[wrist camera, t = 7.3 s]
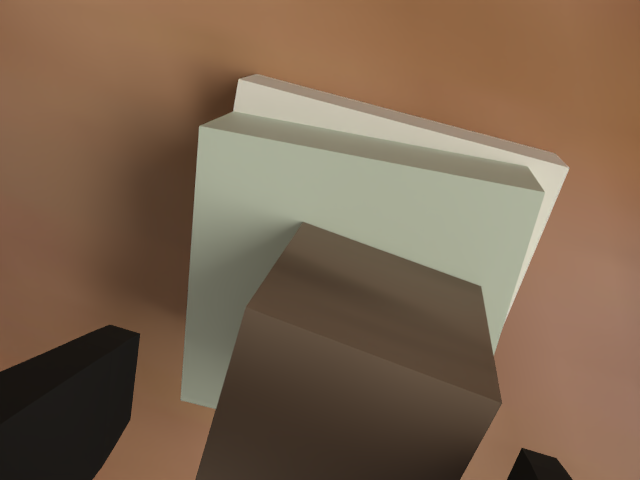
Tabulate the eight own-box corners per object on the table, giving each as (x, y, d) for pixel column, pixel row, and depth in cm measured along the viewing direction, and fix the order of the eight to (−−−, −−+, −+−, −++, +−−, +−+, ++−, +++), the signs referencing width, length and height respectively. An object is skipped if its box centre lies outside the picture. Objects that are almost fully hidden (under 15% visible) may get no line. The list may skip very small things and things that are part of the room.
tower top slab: (454, 412, 18) (457, 470, 15) (211, 353, 19) (180, 400, 16) (527, 166, 15) (545, 192, 12) (233, 111, 16) (198, 125, 13)
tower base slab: (454, 388, 20) (457, 434, 18) (218, 316, 21) (192, 351, 19) (550, 148, 17) (569, 167, 14) (263, 72, 18) (238, 78, 15)
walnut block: (413, 427, 15) (405, 578, 11) (256, 367, 15) (191, 493, 11) (480, 286, 13) (502, 403, 9) (303, 221, 14) (245, 306, 9)
